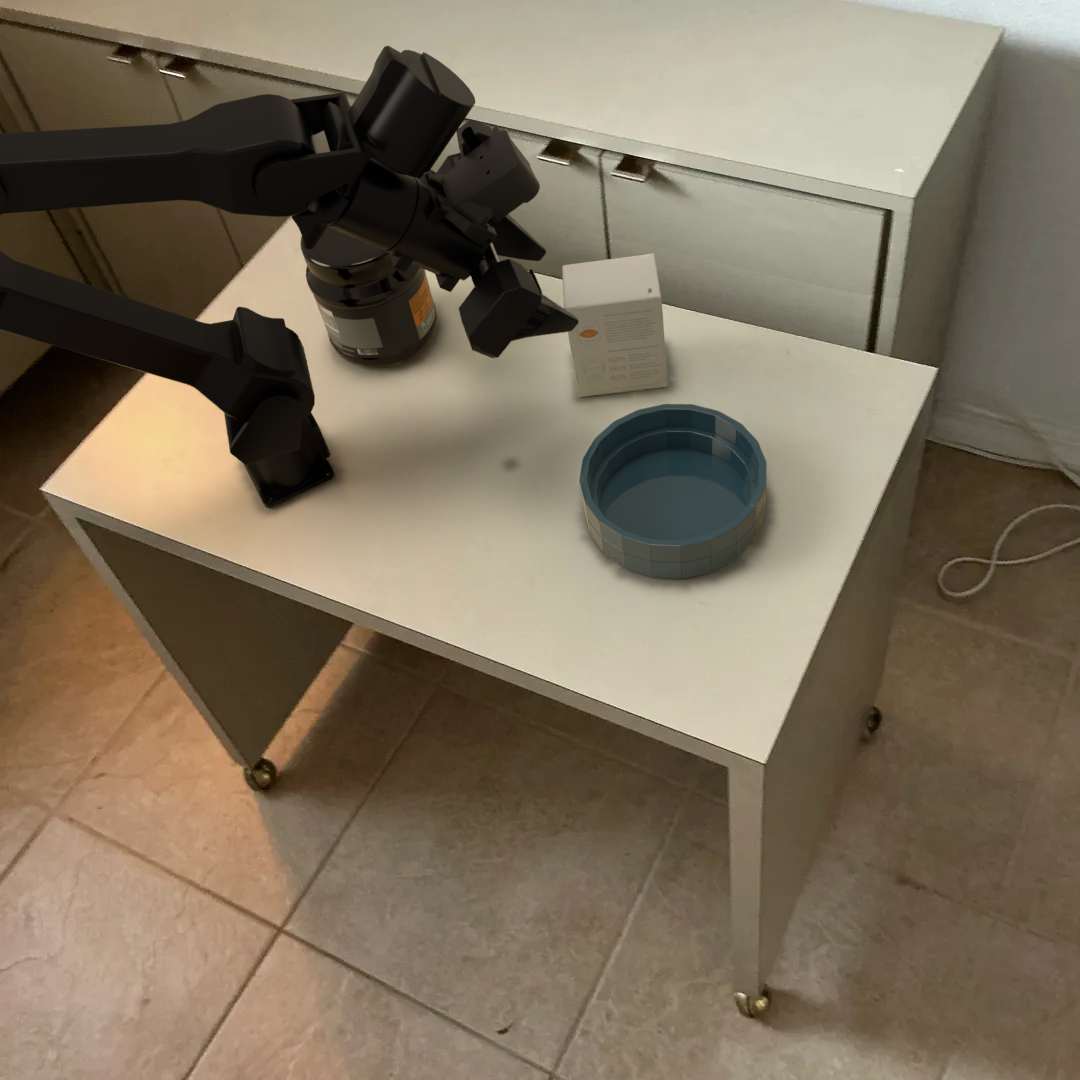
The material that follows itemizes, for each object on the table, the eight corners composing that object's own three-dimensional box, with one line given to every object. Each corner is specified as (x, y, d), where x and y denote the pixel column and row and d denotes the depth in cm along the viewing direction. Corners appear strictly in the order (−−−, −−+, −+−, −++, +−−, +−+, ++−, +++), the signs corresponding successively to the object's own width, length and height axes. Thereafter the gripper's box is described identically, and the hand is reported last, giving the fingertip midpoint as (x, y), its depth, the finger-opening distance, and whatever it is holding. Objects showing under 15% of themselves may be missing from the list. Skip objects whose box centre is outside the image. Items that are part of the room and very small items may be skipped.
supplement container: (453, 299, 108) (427, 195, 99) (422, 377, 103) (391, 274, 93) (352, 293, 111) (318, 191, 101) (316, 369, 105) (275, 267, 96)
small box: (662, 344, 101) (657, 251, 93) (668, 389, 98) (663, 296, 89) (574, 354, 102) (560, 262, 93) (576, 399, 98) (563, 307, 90)
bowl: (644, 610, 84) (640, 576, 81) (555, 488, 93) (548, 453, 89) (801, 527, 87) (804, 490, 84) (701, 416, 95) (700, 378, 92)
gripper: (490, 198, 71) (661, 285, 81) (428, 55, 83) (585, 147, 92) (399, 325, 77) (568, 393, 87) (352, 175, 88) (507, 250, 98)
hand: (558, 289), depth 91 cm, fingers open, 9 cm apart
